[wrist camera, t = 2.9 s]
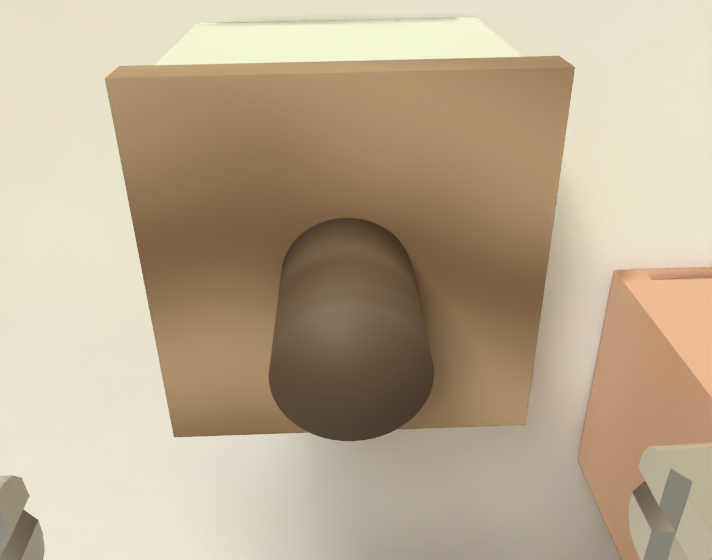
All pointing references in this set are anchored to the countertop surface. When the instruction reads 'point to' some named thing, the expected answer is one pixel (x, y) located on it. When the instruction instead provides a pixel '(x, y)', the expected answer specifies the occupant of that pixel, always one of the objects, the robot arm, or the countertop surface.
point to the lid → (343, 237)
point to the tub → (337, 41)
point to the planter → (647, 383)
